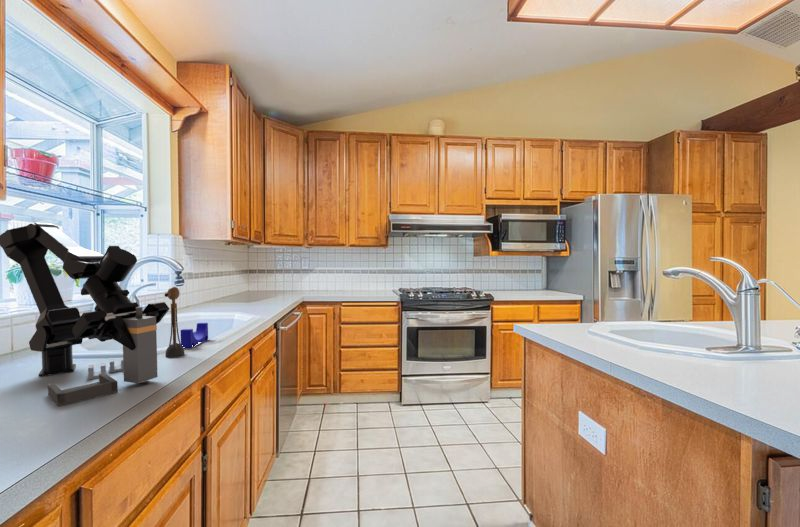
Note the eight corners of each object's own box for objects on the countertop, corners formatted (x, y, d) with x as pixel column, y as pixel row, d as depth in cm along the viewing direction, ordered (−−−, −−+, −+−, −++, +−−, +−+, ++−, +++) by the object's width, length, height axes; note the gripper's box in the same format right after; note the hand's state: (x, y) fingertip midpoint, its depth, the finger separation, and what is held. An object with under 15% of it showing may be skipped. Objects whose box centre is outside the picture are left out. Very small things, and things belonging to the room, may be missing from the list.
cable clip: (194, 340, 128) (194, 322, 128) (208, 340, 129) (207, 322, 129) (176, 349, 116) (175, 330, 116) (190, 349, 117) (190, 329, 117)
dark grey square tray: (48, 395, 78) (48, 384, 78) (104, 382, 86) (104, 372, 86) (58, 406, 73) (57, 394, 72) (117, 392, 80) (117, 381, 80)
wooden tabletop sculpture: (176, 358, 105) (174, 287, 105) (159, 358, 105) (157, 287, 105) (187, 353, 111) (185, 285, 111) (171, 353, 111) (170, 285, 111)
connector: (123, 381, 84) (121, 308, 83) (143, 375, 88) (141, 305, 88) (138, 383, 82) (136, 309, 82) (157, 376, 87) (156, 306, 86)
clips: (88, 372, 93) (88, 362, 93) (149, 363, 101) (149, 353, 101) (87, 379, 88) (87, 368, 88) (151, 369, 96) (151, 358, 96)
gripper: (131, 312, 99) (164, 358, 95) (45, 326, 81) (81, 382, 78) (153, 283, 96) (187, 329, 93) (68, 290, 78) (107, 347, 75)
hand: (144, 346), depth 85 cm, fingers closed on connector, 4 cm apart
